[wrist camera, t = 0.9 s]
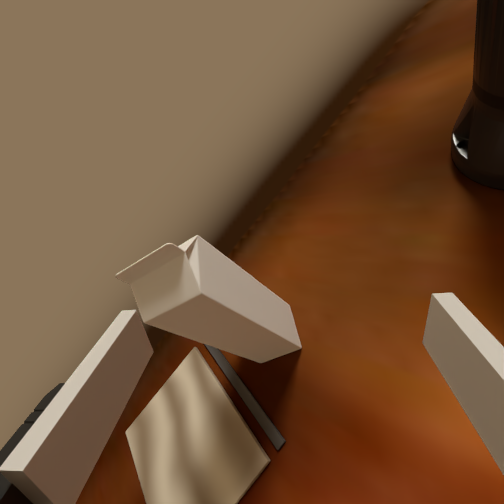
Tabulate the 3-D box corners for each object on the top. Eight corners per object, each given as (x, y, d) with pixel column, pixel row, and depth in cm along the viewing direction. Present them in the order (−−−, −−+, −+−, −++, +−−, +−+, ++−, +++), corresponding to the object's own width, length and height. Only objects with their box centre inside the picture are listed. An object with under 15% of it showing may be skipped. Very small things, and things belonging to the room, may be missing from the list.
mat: (208, 334, 42) (205, 333, 42) (285, 441, 30) (283, 441, 29) (128, 431, 41) (125, 431, 41) (174, 583, 29) (170, 586, 28)
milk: (253, 321, 39) (117, 246, 23) (290, 305, 37) (170, 211, 21) (261, 365, 35) (105, 311, 20) (303, 349, 33) (169, 275, 18)
